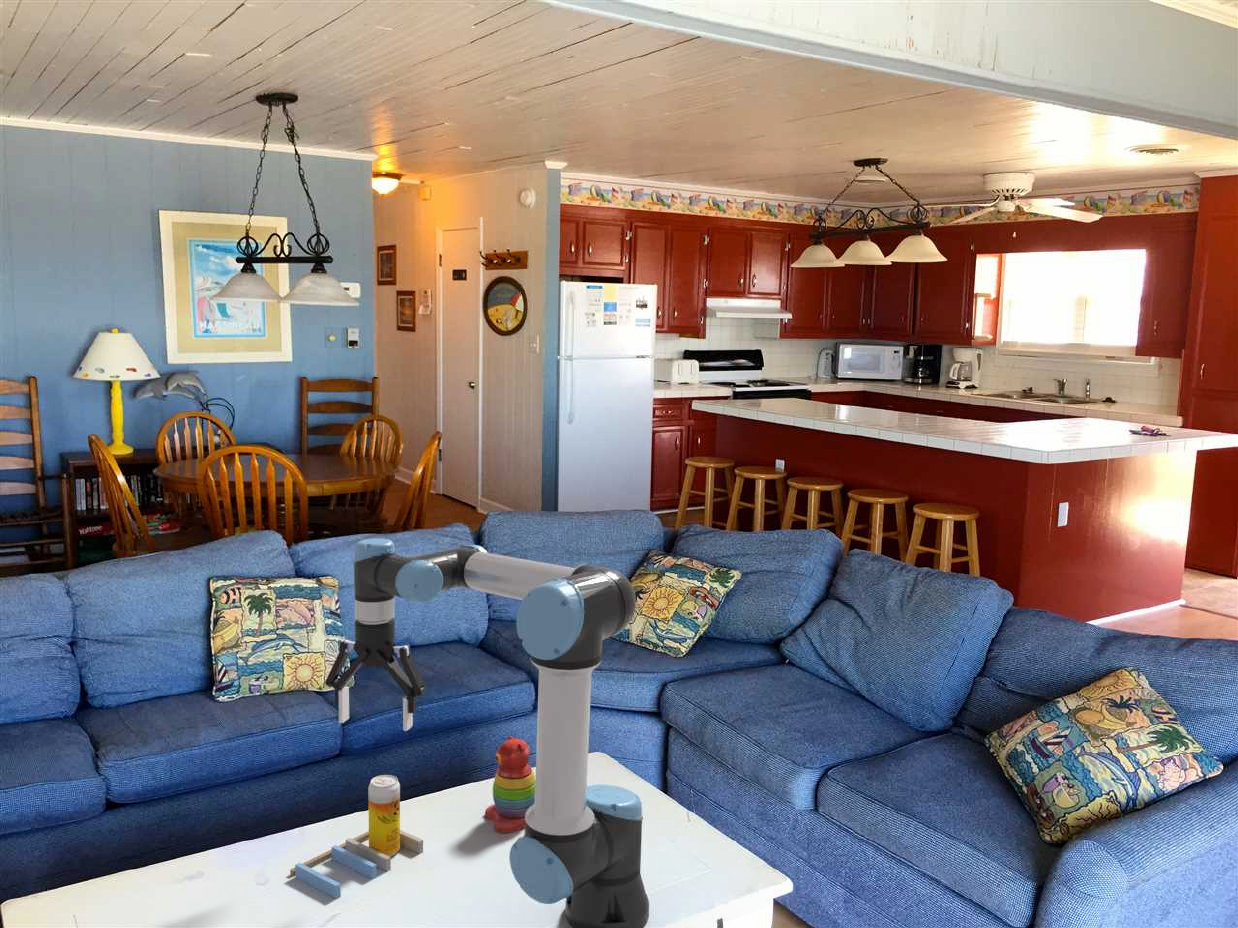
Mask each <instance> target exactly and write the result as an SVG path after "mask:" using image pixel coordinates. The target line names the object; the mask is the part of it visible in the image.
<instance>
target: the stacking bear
mask: <svg viewBox="0 0 1238 928" xmlns="http://www.w3.org/2000/svg"><path fill="white" fill-rule="evenodd" d="M530 754H531V750H530V747H529V745H528V743H526V741H524V740H523V739H519V738H515V737H514V736H511V735H510V736H508V737H507V740H506V741H504V742H503V743H501V745H500V746H499V748H498V750H497V751H496V753H495V760H496V763H497V764H498V765H499V766H498V767H497V769H496V772H495V775H494V781H493V784H492V798H493V802H494V803H493V804H492V805H489V806H488V807H486V809H485V811H484V815H485V818H487V819H490V820H491V821H493V822H494V827H493V828H494V831H495V832H496V833H501V834H509V833H514V832H517V831H521V830H523V829H525V814H526V812H527V810H528V809H529V808H530V807H531V806H532V805H534V804H535V778H536V775H535V773H534V770H533V769H532V767H531V765H529V764H528V763H529V760H530Z"/></svg>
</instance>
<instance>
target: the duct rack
mask: <svg viewBox="0 0 1238 928" xmlns="http://www.w3.org/2000/svg"><path fill="white" fill-rule="evenodd" d="M367 840H369V830H368V831H366V832H365V833H362V834H360V835H357V836H356V837H354V838H351V837H349V838H347V839H346V840H345V842H344V843H342V844H339V845H337V844H335V845H332V846H331V849H330V850H327V851H326V852H323V853H321V854H320V855H318V856H315V857H314V858H311V859H310V860H306V861H305V862H304V863H301V862H298V863H296V864H295V865H294V867H292V868H291V869H290V875H291V876H292V877H295V878H296V879H298V880H300V881H301V882H304V883H306V884H307V885H308V886H309V885H310V886H311V887H313V888H315V889H317V890H319V891H321V892H322V893H324V894H326V895H329V896H330V897H332V898H334V899H335V900H337V899H339V898H341V896H342V893H341V891H342V888H341V886H342V884H341V882H338V881H336V880H334V879H332V878H330V877H328V876H326V874H325V875H324V874H323V873H320V872H319V871H317V870H315V869H313V868H314V867H315V866H317V865H319V864H321V863H323V862H325V861H327V860H329V859H331V860H334V861H335V862H336V863H339V864H341V865H344V866H345V867H347V868H349V869H351V870H353V871H355V872H357V873H359V874H361V875H362V876H363V875H364V876H365V877H367V878H369V879H371V880H374V879H376V878H377V873H378V871H377V868H379V869H381V870H383V871H385V872H389V871H391V870H392V865H391V864H392V862H391V859H392V857H389V856H387V855H385V854H383V853H381V852H378V851H376V850H374V849H372V848H370V847H369V845H366V844H363V842H365V841H367ZM401 846H402V847H404V848H406V849H408V850H410V851H413V852H414V853H417V854H419V855H420V854H421V853H423V852H424V839H422V838H420V837H417V836H415V835H412V834H411V833H409V832H406V831H405V830H404V831H403V830H401V829H400V847H401Z"/></svg>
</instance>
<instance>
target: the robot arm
mask: <svg viewBox="0 0 1238 928" xmlns="http://www.w3.org/2000/svg"><path fill="white" fill-rule="evenodd" d="M395 553H396V550H395V544H394V542H393V541H392V540H391V539H388V538H381V537H380V538H378V537H376V538H375V537H374V538H373V537H372V538H365V539H362V540H359V541H357V543H356V544H355V545H354V553H353V554H354V556H353V562H352V563H353V578H354V579H353V580H354V581H353V582H354V583H353V585H354V619H356V620H355V622H354V638H355V641H352V639H350V638H346V639H344V640H343V641H341V642H339V651H338V654H337V657H336V658H335V661H334V662H333V665H332V666H331V669H330V671H329V672H328V675H327V677H326V679H325V683H324V684H325V685H326V686H327V687H332V688H333V689H334V703H335V705H336V706H338V724H343V723H345V722H346V721H348V720H349V719H350V686H346V685H347V683H348V682H349V681H350V679H352V677H353V676H354V675H355V674H356V673H357V671H358V670H359V669H360V668H361V667H362V666H363V665H364V666H365V667H368V668H369V667H374V668H379V669H380V668H383V669H384V670H385V671H386V672H388V673H389V675H390V676H391V677H392V679H393V680H394V681H395V682H396V684H397V685H398V686H399V688H400V689H401V690H402V692H403V693H404V695H405V696H404V697H403V698H402V726H403V727H402V731H404V732H407V731H408V730H410V729H411V728H412V727H413V725H414V724H413V723H414V717H413V716H414V713H416V711H417V709H418V706H417V705H418V701H417V700H418V697H420V696H422V695H423V694H424V693H425V692H427V686H426V685H425V682H424V680H423V678H422V676H421V674H420V671H419V669H418V667H417V665H416V662H415V661H414V658H413V656H412V650H411V646H410V644H404V645H399V646H398V645H396V643H395V638H396V637H395V635H396V625H395V624H396V623H395V621H396V620H395V619H394V617H395V616H396V615H395V610H396V609H395V597H398V598H401V599H404V600H407V601H409V602H412V603H413V602H415V603H429V602H431V601H433V600H434V599H435V598H436V597H437V596H439V594H440V593H441V592H444V591H447V590H452V589H458V588H463V589H468V590H472V591H478V592H481V593H487V594H493V595H497V596H501V597H505V598H509V599H510V598H511V599H514V600H520V601H521V602H520V603H519V606H518V610H517V614H516V632H517V637H518V639H520V640H522V643H521V645H522V647H523V649H524V650H525V651H526V652H527V654H529V659H530V662H531V663H532V665H533V666H535V668H537V669H538V690H537V691H538V692H537V694H538V696H537V698H538V699H537V722H536V723H537V725H536V727H537V728H536V749H535V751H536V752H535V753H536V754H535V757H536V758H535V804H534V805H532V806H531V807H530V808H529V809H528V810H527V812H526V814H525V828H524V834H523V836H520V837H518V838H517V839H516V841H515V842H514V843H513V844H512V845H511V847H510V849H509V854H508V855H509V857H508V858H509V865H510V870H511V873H512V875H513V877H514V879H515V881H516V883H518V885H519V888H520V889H521V890H522V891H523V892H524V893H525V894H526V895H527V896H528V897H529V898H531V899H532V900H534V901H535V902H538V903H539V904H543V905H552V904H556V903H558V902H559V901H562V900H563V899H565V908H564V909H565V910H564V913H565V918H566V921H567V922H568V923H569V925H570V926H571V927H573V928H643V927H644V926H645V925H646V924H647V922H648V920H649V917H650V902H649V901H650V900H649V897H648V895H647V893H646V888H645V886H644V882H643V878H642V875H641V864H642V863H641V862H642V860H641V859H642V839H643V838H642V837H643V836H642V835H643V834H642V831H643V830H642V829H643V820H644V816H643V805H642V800H641V798H640V797H639V795H638V794H636V793H635V792H634V791H632V790H630V789H628V788H625V787H622V786H617V785H612V784H591V785H588V768H589V767H588V766H589V740H590V739H589V738H590V721H591V720H590V716H591V714H590V713H591V695H592V694H591V693H592V692H591V691H592V672H593V671H594V669H596V668H597V667H598V666H600V665H601V662H602V654H603V653H602V651H603V640H606V639H609V638H611V637H614V636H616V635H618V634H620V633H621V632H622V631H624V630H625V629H626V628H627V627H628V626H629V624H630V623H631V621H632V620H633V618H634V616H635V612H636V609H637V608H636V607H637V606H636V605H637V600H636V599H637V597H636V592H635V589H634V587H633V585H632V583H631V582H630V581H629V579H628V578H627V577H626V576H625V575H624V574H622V573H621V572H620V571H618V570H616V569H613V568H611V567H605V566H597V565H592V564H585V563H583V564H580V565H578V566H576V567H571V566H570V567H569V566H564V565H558V564H554V563H548V562H542V561H536V560H530V559H524V558H518V557H513V556H507V555H502V554H497V553H496V554H495V553H490V552H488V551H487V550H486V549H484V547H483V546H481V545H477V544H472V545H471V544H470V545H462V546H458V547H455V548H450V549H445V550H441V551H436V552H431V553H426V554H421V555H417V556H411V557H408V556H403V555H399V554H395ZM353 650H354V652H355V654H356V655H357V657H356V658H355V659H354V661H353V662H352V663H351V665H350V666H349V667H348V668H347V669H346V671H345V672H344V673H343V674H342V675H341V677H340V674H341V672H342V670H343V668H344V666H345V664H346V662H347V660H348V658H349V656H350V653H351V652H352V651H353ZM395 654H397V657H398V658H399V659H400V663H401V665H402V667H403V669H402V668H401V666H400V665H399V661H398V660H397V659H396V657H395ZM339 677H340V678H339Z"/></svg>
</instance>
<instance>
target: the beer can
mask: <svg viewBox="0 0 1238 928" xmlns="http://www.w3.org/2000/svg"><path fill="white" fill-rule="evenodd" d="M367 789H368V792H367V793H368V798H367V800H368V831H369V839H368V847H370V848H372V849H374V850H376V851H378V852H381V853H383V854H385V855H387V856H389V857H391V858H392V857H394V856H395V855H396V854H398V851H400V849H401V845H400V830H401V784H400V782H399V779H398V778H397V776H396V775H391V774H382V775H377V776H375V777H372V779H371V780H370V783H369V785H368V788H367Z"/></svg>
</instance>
